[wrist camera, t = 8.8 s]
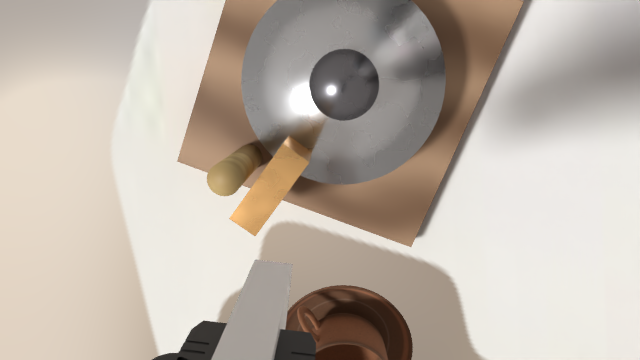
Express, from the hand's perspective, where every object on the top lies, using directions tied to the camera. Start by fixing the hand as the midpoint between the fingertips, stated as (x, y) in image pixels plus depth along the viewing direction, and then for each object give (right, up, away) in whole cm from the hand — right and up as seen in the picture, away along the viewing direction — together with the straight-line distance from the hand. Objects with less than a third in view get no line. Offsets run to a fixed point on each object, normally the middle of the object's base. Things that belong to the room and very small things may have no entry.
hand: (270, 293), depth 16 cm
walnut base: (+4, +12, +16) cm, 20 cm away
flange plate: (+2, +10, +14) cm, 17 cm away
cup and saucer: (+4, -10, +21) cm, 24 cm away
